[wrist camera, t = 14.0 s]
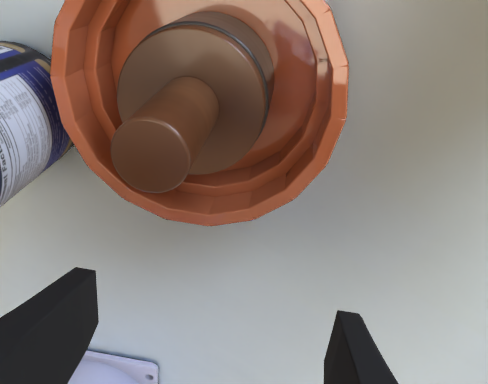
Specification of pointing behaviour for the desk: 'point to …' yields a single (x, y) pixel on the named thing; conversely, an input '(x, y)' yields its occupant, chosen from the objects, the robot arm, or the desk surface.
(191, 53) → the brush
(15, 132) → the pill bottle
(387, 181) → the desk surface
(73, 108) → the dish
